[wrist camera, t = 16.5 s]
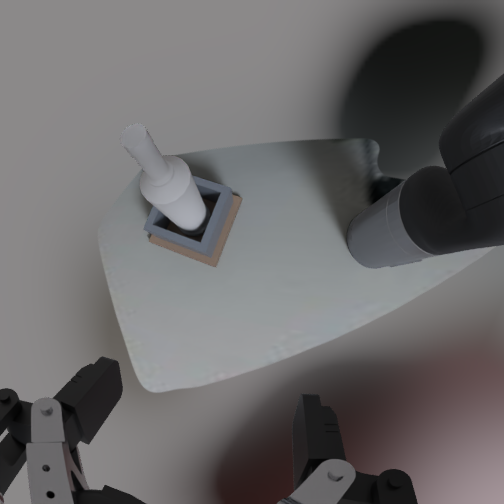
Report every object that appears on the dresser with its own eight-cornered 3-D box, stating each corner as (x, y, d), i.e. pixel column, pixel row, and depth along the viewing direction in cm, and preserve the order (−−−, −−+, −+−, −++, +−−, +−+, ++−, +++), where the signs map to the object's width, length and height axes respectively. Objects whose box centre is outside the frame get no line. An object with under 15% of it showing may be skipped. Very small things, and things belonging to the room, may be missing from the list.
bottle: (201, 197, 43) (152, 95, 18) (218, 226, 43) (179, 141, 18) (172, 215, 43) (93, 131, 18) (188, 244, 42) (113, 182, 17)
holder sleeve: (242, 199, 44) (241, 183, 37) (216, 267, 43) (209, 263, 36) (178, 178, 45) (166, 160, 38) (150, 242, 43) (134, 233, 36)
